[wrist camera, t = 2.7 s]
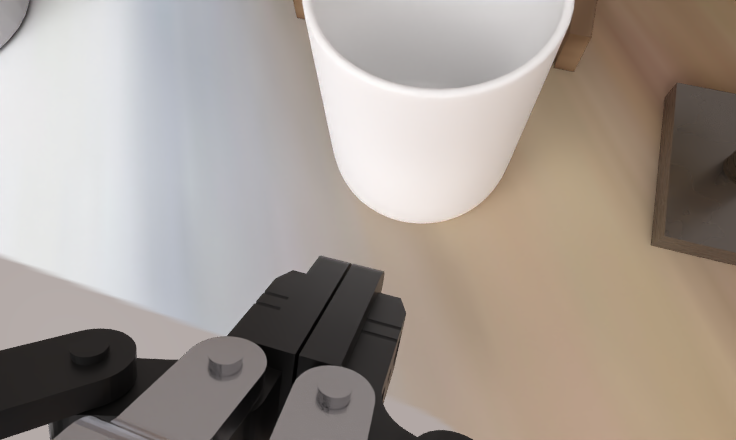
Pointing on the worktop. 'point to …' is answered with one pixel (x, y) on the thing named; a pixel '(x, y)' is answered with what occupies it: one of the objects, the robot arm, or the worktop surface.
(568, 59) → the tray frame
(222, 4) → the worktop surface
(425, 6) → the mug
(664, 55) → the worktop surface
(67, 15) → the worktop surface
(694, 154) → the balance
